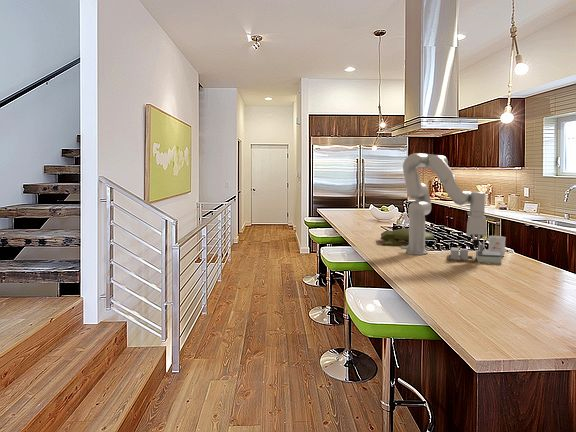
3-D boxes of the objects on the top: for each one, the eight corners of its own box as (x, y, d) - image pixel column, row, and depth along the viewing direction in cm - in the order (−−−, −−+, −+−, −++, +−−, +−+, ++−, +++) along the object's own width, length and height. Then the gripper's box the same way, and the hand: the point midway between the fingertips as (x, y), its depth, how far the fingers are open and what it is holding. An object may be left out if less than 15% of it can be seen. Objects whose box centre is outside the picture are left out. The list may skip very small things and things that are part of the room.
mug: (503, 254, 290) (504, 236, 289) (505, 257, 282) (506, 238, 281) (481, 253, 293) (482, 235, 292) (483, 256, 285) (484, 237, 284)
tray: (448, 261, 272) (448, 258, 271) (447, 256, 284) (447, 254, 283) (474, 262, 268) (475, 260, 268) (472, 258, 280) (472, 255, 280)
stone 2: (450, 260, 272) (451, 250, 272) (450, 259, 276) (450, 249, 276) (458, 261, 271) (458, 250, 271) (457, 259, 275) (458, 249, 274)
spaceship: (381, 246, 321) (381, 231, 320) (380, 238, 351) (380, 225, 350) (436, 247, 315) (436, 232, 314) (430, 240, 345) (431, 226, 344)
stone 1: (450, 258, 278) (450, 248, 277) (451, 257, 282) (451, 247, 281) (457, 259, 276) (458, 249, 276) (458, 258, 280) (458, 247, 279)
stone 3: (460, 260, 274) (460, 249, 273) (459, 258, 278) (459, 248, 277) (467, 260, 273) (468, 250, 272) (467, 259, 277) (467, 248, 276)
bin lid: (478, 255, 267) (478, 245, 267) (476, 251, 279) (476, 241, 278) (501, 256, 264) (502, 246, 263) (498, 252, 275) (499, 242, 275)
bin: (477, 262, 268) (478, 256, 267) (475, 258, 279) (475, 252, 279) (501, 263, 264) (501, 257, 264) (498, 259, 276) (498, 253, 275)
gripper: (463, 214, 269) (462, 247, 271) (492, 215, 265) (491, 248, 267) (462, 213, 276) (461, 245, 278) (490, 213, 272) (489, 246, 274)
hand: (475, 246), depth 273 cm, fingers closed
